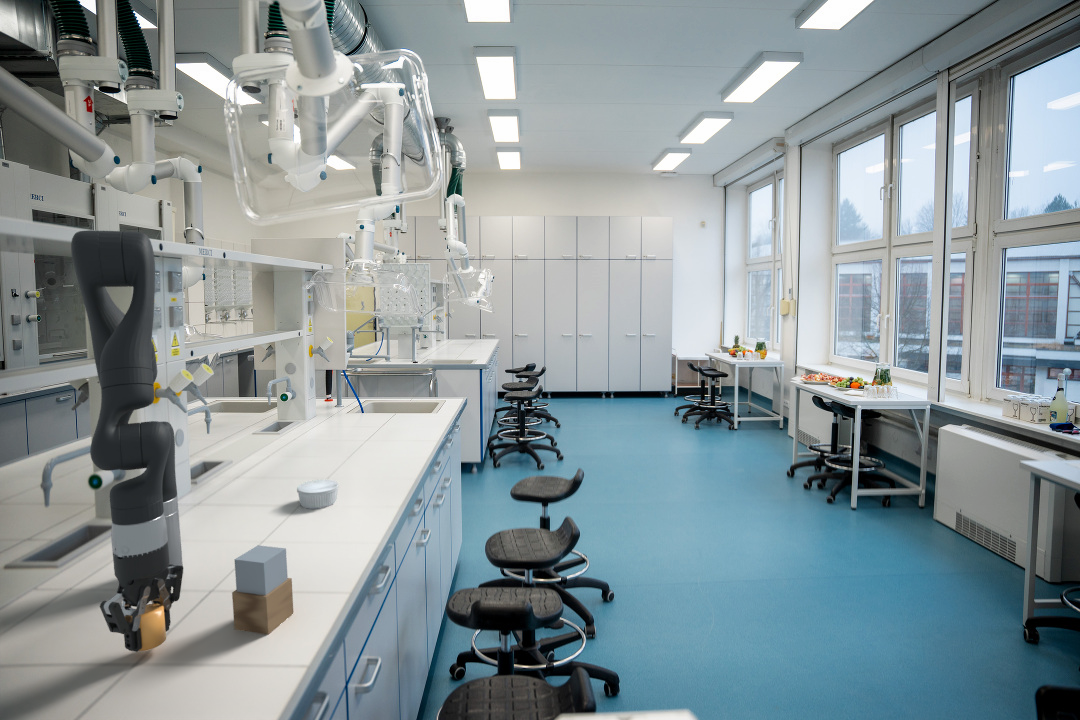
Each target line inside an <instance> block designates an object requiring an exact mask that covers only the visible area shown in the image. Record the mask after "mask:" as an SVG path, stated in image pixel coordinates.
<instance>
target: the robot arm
mask: <svg viewBox="0 0 1080 720" xmlns="http://www.w3.org/2000/svg"><path fill="white" fill-rule="evenodd" d="M70 249H71V250H70V251H71V252H70V253H71V259H72V264H73V269H74V273H75V275H76V280H77V283H78V286H79V290H80V294H81V297H82V300H83V301H82V302H83V304H84V308H85V311H86V315H87V321H88V324H89V325H88V326H89V330H90V338H91V343H92V349H93V350H92V351H93V359H94V363H95V369H96V372H97V373H96V374H97V377H98V378H97V379H98V380H99V381H98V382H99V385H100V386H99V387H100V390H101V391H100V392H101V393H100V395H101V400H100V401H101V402H100V410H99V415H98V420H97V422H96V423H97V424H96V426H95V430H94V433H93V436H92V439H91V445H90V452H89V453H90V458H91V462H93V464H94V465H95V466H96V467H97V468H98V469H100V470H102V471H105V472H106V471H108V472H109V471H117V470H120V471H134V470H141V469H144V471H143V472H142V473H141V474H139V475H137V476H134V477H133V478H129V479H126V480H123V481H121V482H118V483H116V484H114V485H113V486H112V487H111V489H110V490H109V505H110V516H111V518H110V519H111V533H110V535H111V536H110V537H111V548H112V560H113V561H112V562H113V570H114V571H113V572H114V576H115V578H116V579H117V581H118V586H117V589H116V594H115V595H114V596H113V597H111V599H109V600H103V601H101V602H100V604H99V608H100V611H101V614H102V616H103V618H104V620H105V623H106V625H107V628H108V630H109V631H110V633H116V634H121V635H123V638H124V640H123V641H124V648H125V649H126V650H128V651H129V652H136V653H137V652H140V651H139V650H140V649H142V640H141V629H140V628H139V625H140V620H141V616H142V615H143V614H144V613H145V608H146V605H148V604H150V602H151V604H161V605H163V606H164V617H165V629H166V633H167V632H168V631H169V630H170V626H171V612H170V610H171V608H172V606H173V605H172V604H173V603H174V602H178V601H179V599H180V597H181V592H182V591H181V589H182V583H183V581H182V580H183V574H184V566H183V551H182V539H181V538H182V537H181V527H180V525H181V524H180V513H179V512H180V511H179V502H178V501H179V499H178V489H177V479H176V478H177V476H176V442H175V441H176V439H175V438H176V437H175V432H174V428H173V426H172V424H171V423H170V422H168V421H157V420H155V421H154V420H151V421H143V422H142V421H141V422H131V423H129V421H130V418H131V416H132V415H133V413H134V411H136V410H140V409H144V408H146V407H149V406H151V405H152V404H153V403H154V401H155V387H154V385H155V382H156V379H157V377H158V363H157V357H156V350H155V345H154V343H153V328H154V314H155V313H154V312H155V297H156V296H155V290H156V289H155V288H156V263H155V262H156V261H155V260H156V259H155V253H154V249H153V244H152V242H151V240H150V238H149V236H148V235H147V234H146V233H144V232H141V231H139V232H138V231H126V230H123V231H121V230H88V229H87V230H79V231H77V232H75V233H74V234H73V236H72V238H71V243H70ZM106 287H107V288H118V287H119V288H120V287H121V288H123V287H124V288H125V287H127V288H128V287H129V288H130V287H132V298H131V301H130V305H129V307H128V309H127V310H126V313H124V312H123V311H122V310H121V309H120V308H119V307H118V306H117V304H116V303H115V302H114V300H113V299H112V298H111V296H110V294H109V293H108V290H107V288H106ZM172 589H173V590H172ZM133 607H135V608H133ZM136 608H137V609H136ZM131 616H132V622H130V619H131Z"/></svg>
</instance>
